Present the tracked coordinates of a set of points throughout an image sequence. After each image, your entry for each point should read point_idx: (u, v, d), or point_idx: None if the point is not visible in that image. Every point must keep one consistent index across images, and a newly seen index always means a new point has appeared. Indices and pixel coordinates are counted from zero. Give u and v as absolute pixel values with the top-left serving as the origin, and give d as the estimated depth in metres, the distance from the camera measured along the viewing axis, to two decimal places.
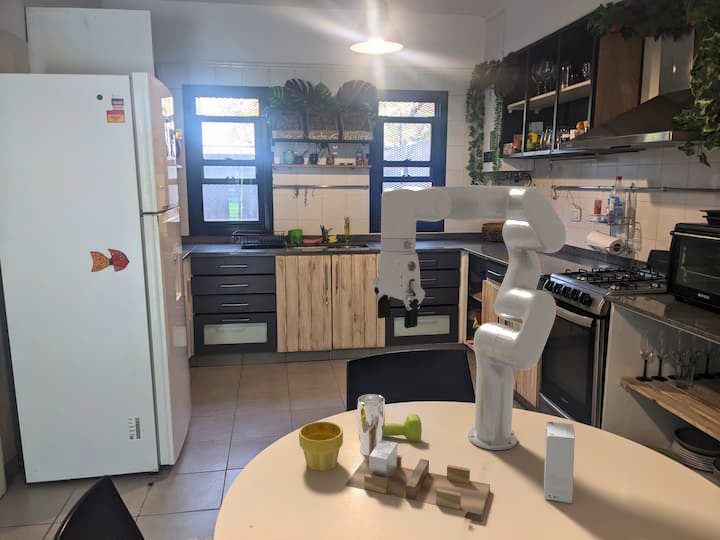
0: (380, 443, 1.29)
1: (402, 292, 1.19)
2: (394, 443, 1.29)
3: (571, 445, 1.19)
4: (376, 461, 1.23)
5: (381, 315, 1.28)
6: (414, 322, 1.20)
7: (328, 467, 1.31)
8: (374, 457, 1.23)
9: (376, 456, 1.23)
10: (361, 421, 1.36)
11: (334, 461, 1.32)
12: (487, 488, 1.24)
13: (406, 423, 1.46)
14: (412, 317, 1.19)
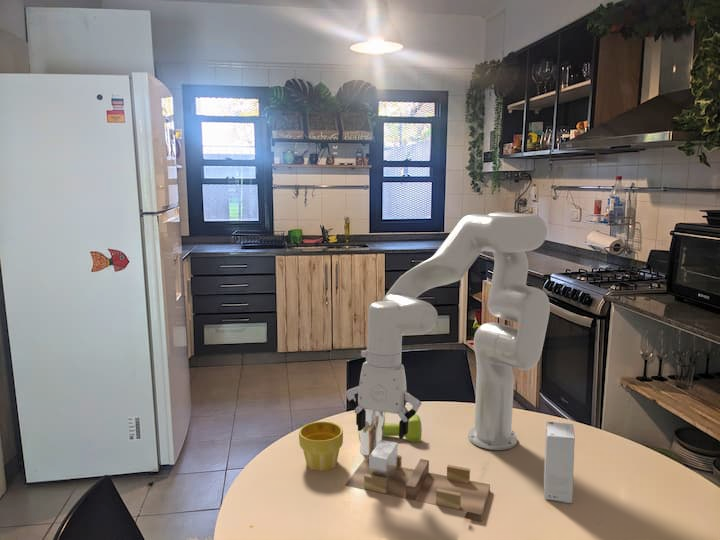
0: (380, 443, 1.29)
1: None
2: (394, 443, 1.29)
3: (571, 445, 1.19)
4: (376, 461, 1.23)
5: None
6: None
7: (328, 467, 1.31)
8: (374, 457, 1.23)
9: (376, 456, 1.23)
10: None
11: (334, 461, 1.32)
12: (487, 488, 1.24)
13: None
14: None
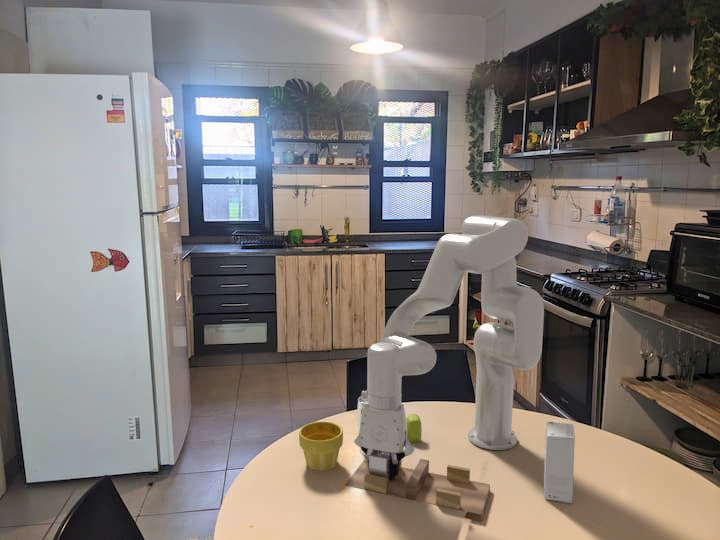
0: None
1: None
2: None
3: (571, 445, 1.19)
4: (376, 461, 1.23)
5: None
6: None
7: (328, 467, 1.31)
8: (374, 457, 1.23)
9: (376, 456, 1.23)
10: None
11: (334, 461, 1.32)
12: (487, 488, 1.24)
13: None
14: None
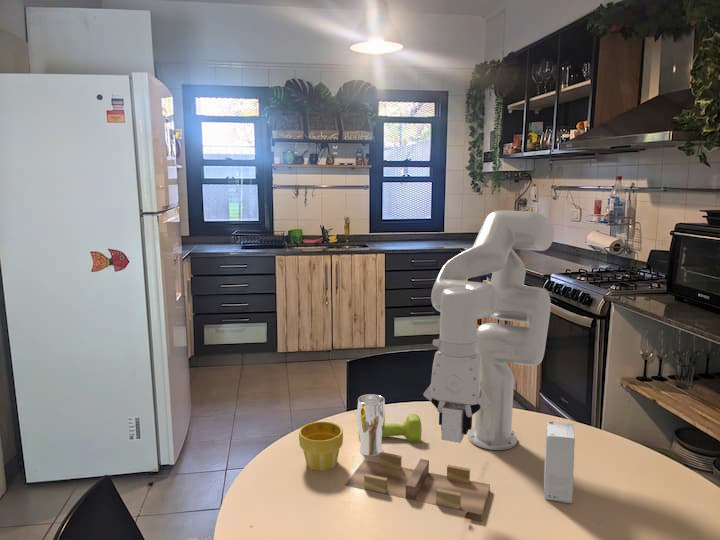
0: None
1: None
2: None
3: (571, 445, 1.19)
4: (450, 414, 1.15)
5: None
6: None
7: (328, 467, 1.31)
8: (448, 409, 1.15)
9: (450, 408, 1.15)
10: (361, 421, 1.36)
11: (334, 461, 1.32)
12: (487, 488, 1.24)
13: (405, 424, 1.46)
14: None
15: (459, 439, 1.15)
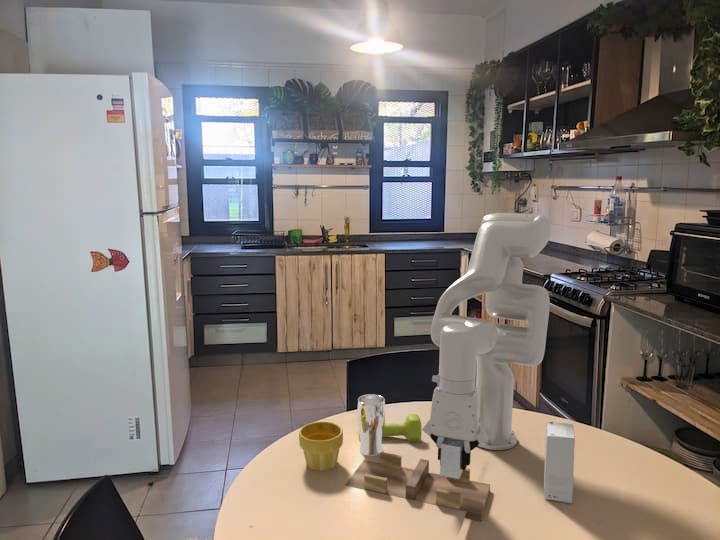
0: None
1: None
2: None
3: (571, 445, 1.19)
4: (449, 450, 1.16)
5: None
6: None
7: (328, 467, 1.31)
8: (447, 445, 1.16)
9: (448, 444, 1.16)
10: (361, 421, 1.36)
11: (334, 461, 1.32)
12: (487, 488, 1.24)
13: (405, 424, 1.46)
14: None
15: (458, 475, 1.16)
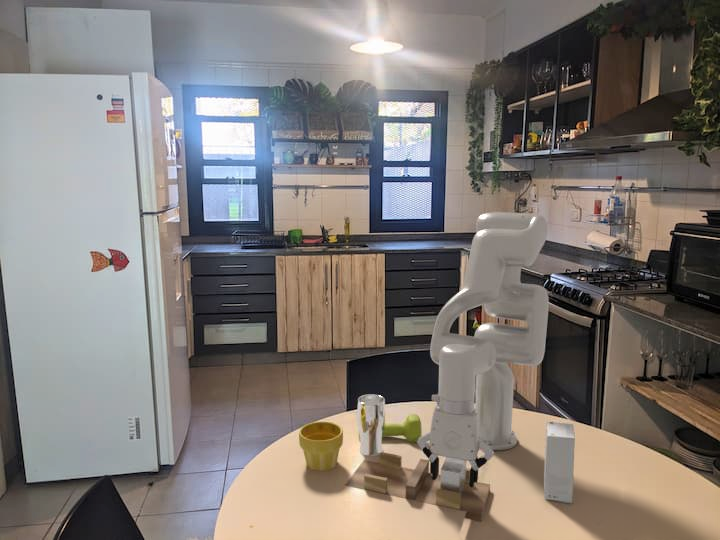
0: None
1: None
2: None
3: (571, 445, 1.19)
4: (448, 475, 1.18)
5: None
6: None
7: (328, 467, 1.31)
8: (446, 471, 1.18)
9: (448, 470, 1.17)
10: (361, 421, 1.36)
11: (334, 461, 1.32)
12: (487, 488, 1.24)
13: (405, 424, 1.46)
14: None
15: None
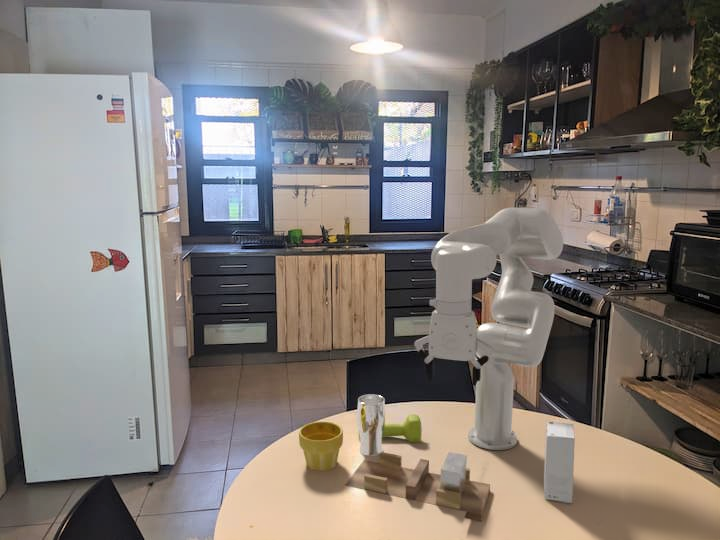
0: (449, 456, 1.24)
1: None
2: (463, 455, 1.24)
3: (571, 445, 1.19)
4: (448, 475, 1.18)
5: None
6: None
7: (328, 467, 1.31)
8: (446, 471, 1.18)
9: (448, 470, 1.17)
10: (361, 421, 1.36)
11: (334, 461, 1.32)
12: (487, 488, 1.24)
13: (405, 424, 1.46)
14: None
15: None
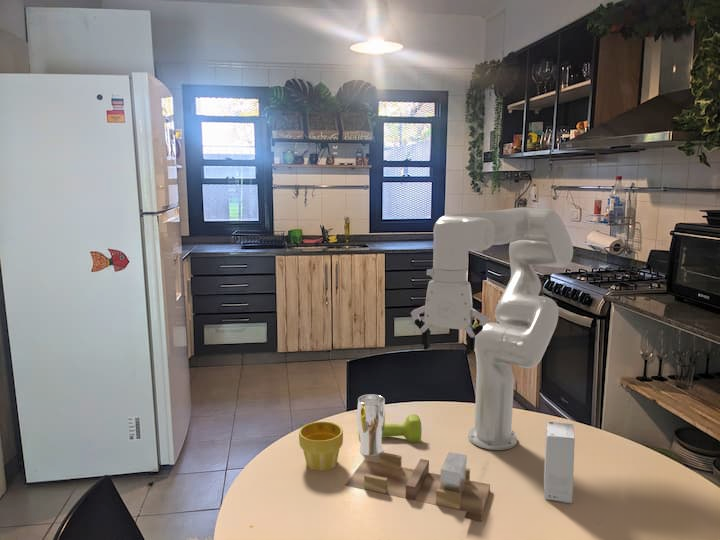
0: (449, 456, 1.24)
1: None
2: (463, 455, 1.24)
3: (571, 445, 1.19)
4: (448, 475, 1.18)
5: None
6: None
7: (328, 467, 1.31)
8: (446, 471, 1.18)
9: (448, 470, 1.17)
10: (361, 421, 1.36)
11: (334, 461, 1.32)
12: (487, 488, 1.24)
13: (405, 424, 1.46)
14: None
15: None
